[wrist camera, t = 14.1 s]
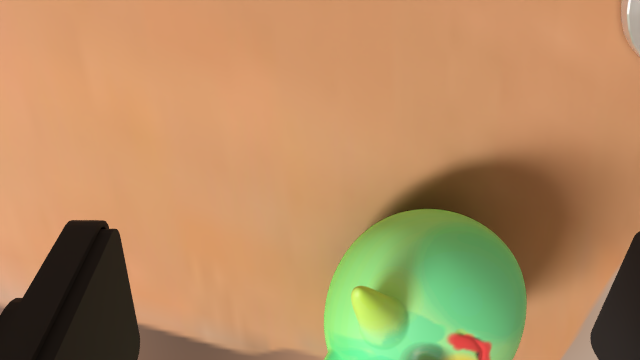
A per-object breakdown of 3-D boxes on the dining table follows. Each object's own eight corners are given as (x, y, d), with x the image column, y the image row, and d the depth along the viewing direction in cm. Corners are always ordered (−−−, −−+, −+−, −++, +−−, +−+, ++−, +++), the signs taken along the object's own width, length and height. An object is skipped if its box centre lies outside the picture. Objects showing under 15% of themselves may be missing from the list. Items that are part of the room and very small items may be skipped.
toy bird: (449, 333, 55) (496, 474, 43) (290, 313, 52) (291, 457, 40) (522, 192, 46) (609, 319, 34) (335, 158, 43) (354, 282, 31)
